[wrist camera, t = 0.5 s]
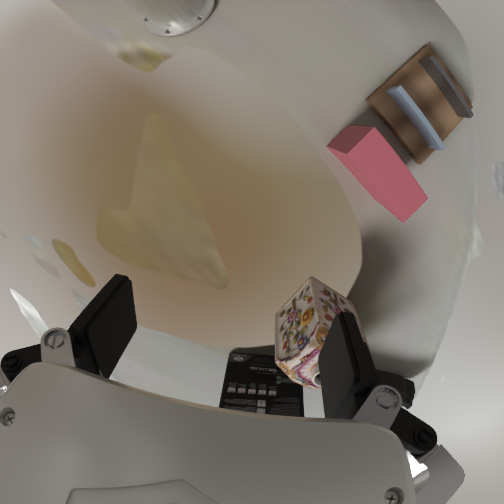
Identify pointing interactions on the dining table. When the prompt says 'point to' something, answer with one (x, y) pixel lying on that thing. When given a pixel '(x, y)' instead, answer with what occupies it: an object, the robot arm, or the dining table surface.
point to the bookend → (446, 86)
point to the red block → (378, 169)
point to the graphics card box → (260, 387)
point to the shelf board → (426, 100)
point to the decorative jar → (307, 330)
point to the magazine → (398, 386)
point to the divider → (416, 117)
